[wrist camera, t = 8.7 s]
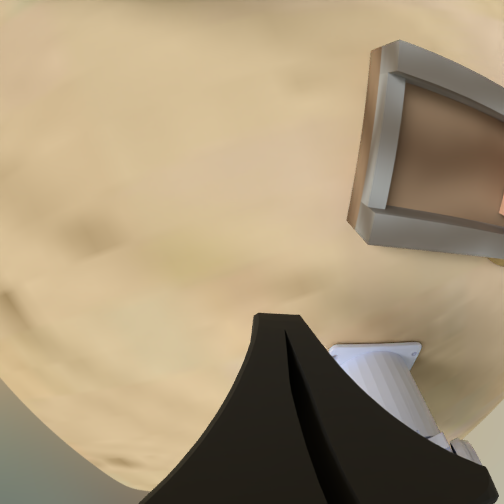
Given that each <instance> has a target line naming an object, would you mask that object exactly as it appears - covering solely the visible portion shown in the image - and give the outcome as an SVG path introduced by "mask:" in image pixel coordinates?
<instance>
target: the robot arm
mask: <svg viewBox="0 0 504 504" xmlns="http://www.w3.org/2000/svg"><path fill="white" fill-rule="evenodd" d="M421 348H422V345H421V344H420V343H419V342H406V343H383V344H337V345H333V346H332V347H331V348H330V349H329V352H328V351H327V350H326V349H325V347H324V346H323V345H322V344H321V342H320V341H319V340H318V338H317V337H316V336H315V334H314V333H313V332H312V330H311V329H310V328H309V327H308V325H307V324H306V323H305V321H304V320H303V319H302V317H301V316H300V315H289V314H269V313H257V314H256V315H254V318H253V326H252V334H251V342H250V345H249V348H248V351H247V354H246V357H245V359H244V362H243V364H242V367H241V369H240V371H239V373H238V375H237V377H236V380H235V382H234V384H233V386H232V388H231V390H230V391H229V393H228V395H227V397H226V399H225V400H224V402H223V404H222V405H221V407H220V409H219V410H218V412H217V414H216V415H215V417H214V418H213V420H212V421H211V423H210V424H209V425H208V427H207V428H206V430H205V431H204V433H203V434H202V435H201V437H200V438H199V439H198V441H197V442H196V443H195V445H194V446H193V447H192V448H191V449H190V451H189V452H188V453H187V454H186V455H185V456H184V458H183V459H182V460H181V461H180V462H179V464H178V465H177V466H176V467H175V468H174V469H173V470H172V471H171V472H170V474H169V475H168V476H167V477H166V478H165V479H164V480H163V481H162V482H160V483H159V484H158V485H157V486H156V487H155V488H154V489H153V490H152V491H151V492H150V493H149V494H148V495H147V496H146V497H145V498H144V499H143V500H142V501H140V503H139V504H494V503H495V502H496V501H497V499H498V497H499V495H498V492H497V490H496V488H495V485H494V483H493V481H492V479H491V476H490V474H489V472H488V470H487V468H486V467H485V466H482V464H481V462H480V460H479V458H478V456H477V454H476V452H475V450H474V449H473V447H472V446H471V445H470V443H469V442H468V441H466V440H460V439H459V438H455V439H454V440H452V441H450V445H451V448H450V446H449V444H448V442H447V439H446V437H445V435H444V433H443V432H441V433H440V431H439V429H438V427H437V425H436V422H435V420H434V418H433V416H432V414H431V412H430V410H429V408H428V406H427V404H426V402H425V400H424V398H423V396H422V394H421V392H420V390H419V388H418V387H417V385H416V383H415V381H414V379H413V377H412V375H411V373H410V370H411V368H412V366H413V364H414V362H415V360H416V358H417V356H418V354H419V352H420V350H421ZM334 355H336V356H334ZM333 356H334V357H333ZM451 449H452V450H451ZM452 451H453V452H452Z"/></svg>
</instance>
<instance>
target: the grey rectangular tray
mask: <svg viewBox="0 0 504 504" xmlns="http://www.w3.org/2000/svg"><path fill="white" fill-rule="evenodd" d="M503 195H504V88H503V87H502V86H500V85H498V84H496V83H495V82H493V81H491V80H489V79H487V78H486V77H484V76H482V75H480V74H478V73H476V72H474V71H472V70H470V69H468V68H466V67H464V66H462V65H460V64H458V63H456V62H454V61H452V60H449V59H447V58H445V57H443V56H440V55H438V54H436V53H433V52H431V51H428V50H426V49H423V48H421V47H418V46H416V45H413V44H410V43H407V42H405V41H402V40H397V41H395V42H392V43H389V44H387V45H384V46H382V47H379V48H377V49H374V50H372V51H371V57H370V68H369V78H368V88H367V97H366V105H365V113H364V121H363V128H362V135H361V142H360V149H359V155H358V161H357V167H356V173H355V179H354V185H353V190H352V196H351V201H350V206H349V211H348V216H347V221H348V223H349V224H350V225H351V226H352V227H353V228H354V229H355V230H356V232H357V233H358V234H359V235H360V236H361V237H362V238H363V240H364V241H365V242H366V243H367V244H368V245H376V246H386V247H396V248H406V249H416V250H426V251H435V252H444V253H454V254H463V255H472V256H481V257H488V259H489V260H490V261H492V262H493V263H495V264H497V265H500V266H503V267H504V215H502V214H500V213H499V211H500V207H501V203H502V199H503Z"/></svg>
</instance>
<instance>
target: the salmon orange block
mask: <svg viewBox="0 0 504 504" xmlns="http://www.w3.org/2000/svg"><path fill="white" fill-rule="evenodd" d="M499 213H500V214H502V215H504V195H503V199H502V203H501V207H500V211H499Z"/></svg>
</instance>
